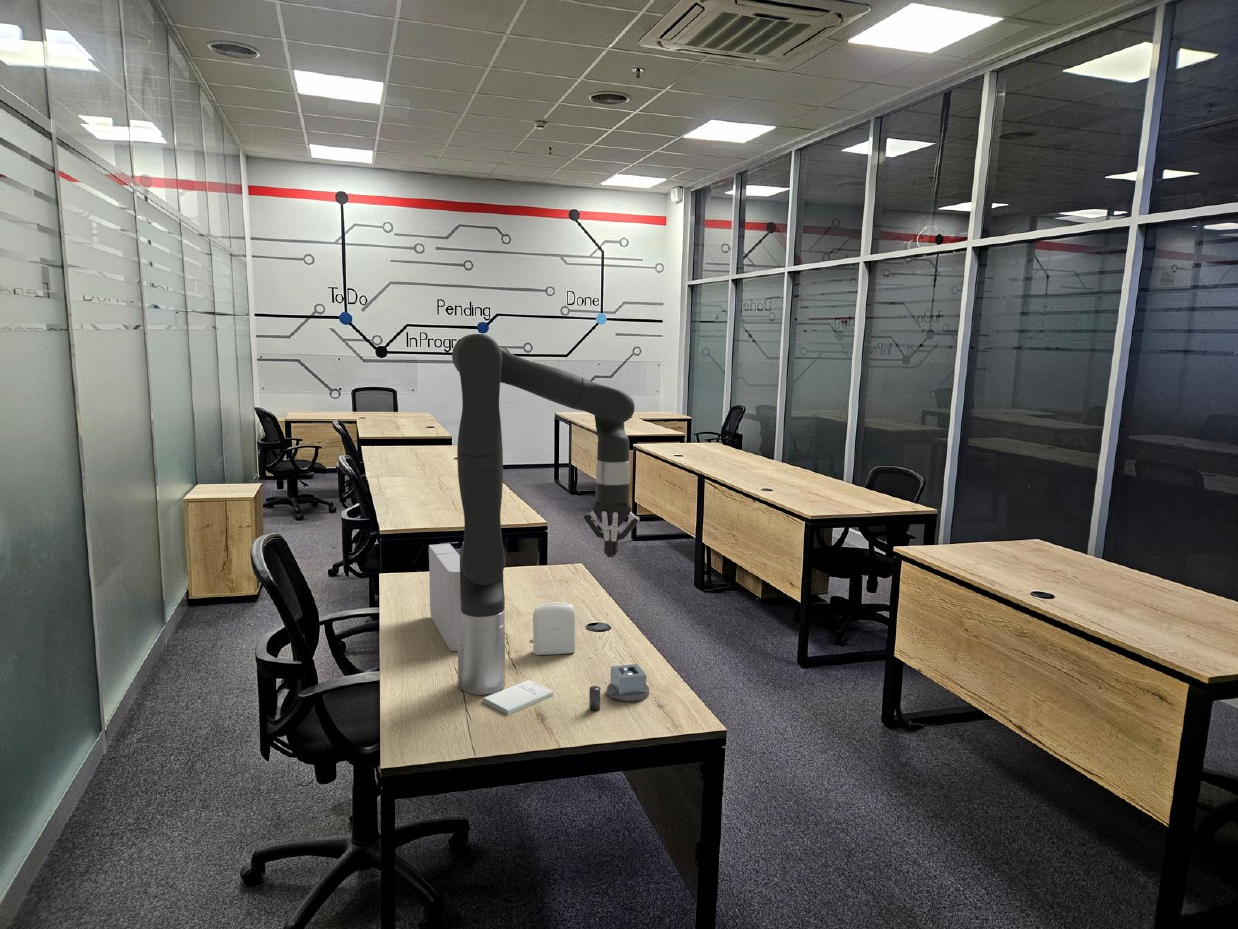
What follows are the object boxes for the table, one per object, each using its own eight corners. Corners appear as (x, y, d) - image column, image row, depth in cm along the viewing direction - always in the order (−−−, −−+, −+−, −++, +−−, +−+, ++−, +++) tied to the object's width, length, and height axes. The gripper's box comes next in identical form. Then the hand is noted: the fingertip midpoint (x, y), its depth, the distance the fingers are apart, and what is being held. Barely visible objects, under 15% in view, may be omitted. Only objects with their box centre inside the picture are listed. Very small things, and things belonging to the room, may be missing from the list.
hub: (602, 699, 160) (602, 679, 159) (612, 681, 169) (612, 662, 168) (644, 705, 158) (644, 684, 157) (652, 686, 167) (652, 667, 166)
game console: (450, 653, 183) (448, 572, 180) (429, 616, 208) (427, 545, 205) (473, 649, 185) (473, 570, 182) (450, 613, 210) (449, 543, 207)
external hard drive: (482, 704, 158) (528, 685, 167) (507, 718, 153) (553, 697, 162) (482, 697, 158) (528, 678, 167) (507, 710, 152) (553, 690, 161)
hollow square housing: (618, 696, 159) (619, 678, 159) (610, 684, 165) (610, 666, 164) (645, 693, 161) (646, 675, 161) (636, 681, 167) (637, 663, 166)
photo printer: (533, 656, 182) (533, 607, 180) (532, 649, 186) (532, 601, 184) (576, 654, 183) (576, 605, 181) (574, 647, 187) (574, 599, 186)
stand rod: (588, 710, 155) (588, 690, 154) (590, 706, 157) (591, 685, 156) (598, 712, 154) (598, 691, 154) (601, 707, 157) (601, 686, 156)
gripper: (579, 481, 166) (578, 558, 169) (638, 485, 163) (636, 563, 166) (588, 476, 174) (587, 549, 176) (645, 479, 171) (643, 554, 173)
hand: (611, 556), depth 171 cm, fingers closed
